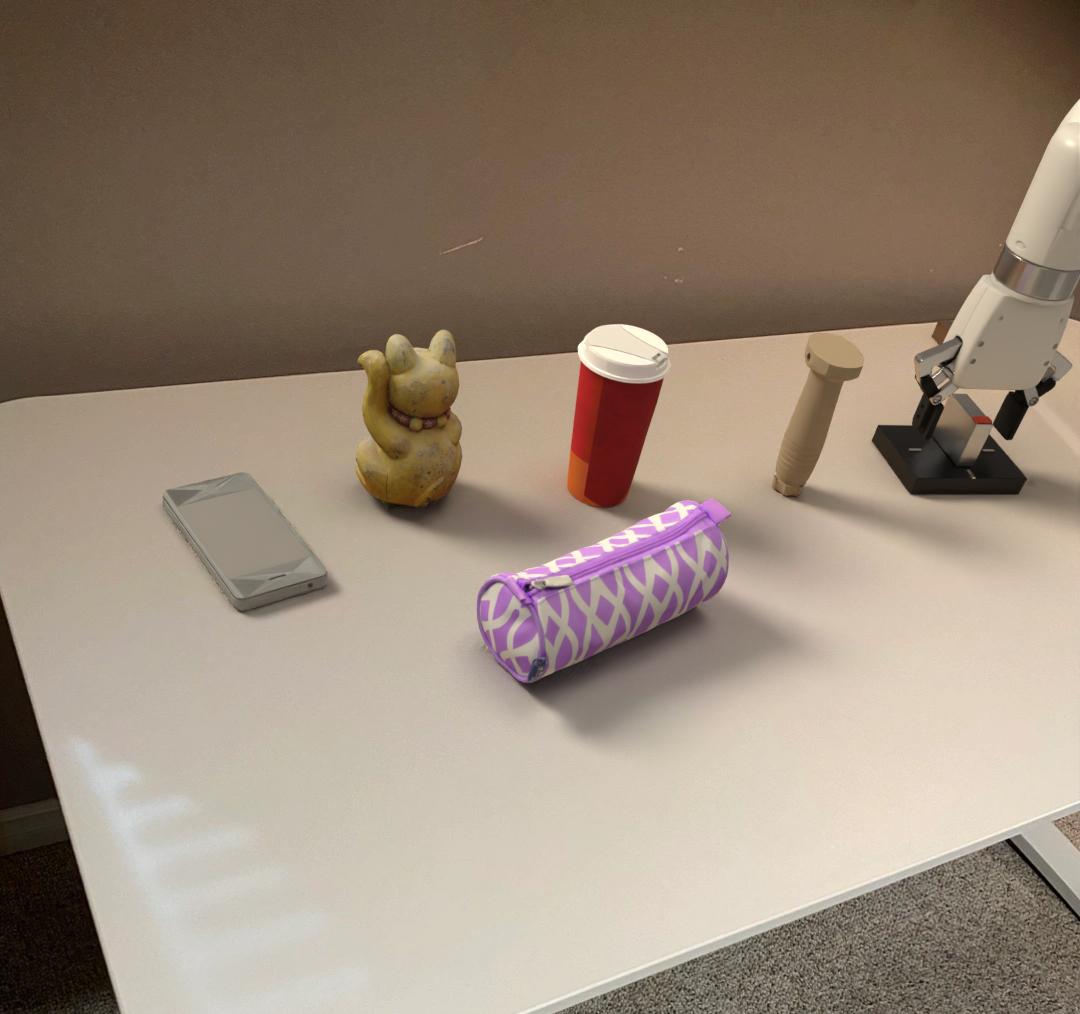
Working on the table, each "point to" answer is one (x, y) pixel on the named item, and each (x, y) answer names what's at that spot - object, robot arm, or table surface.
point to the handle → (815, 408)
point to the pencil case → (604, 591)
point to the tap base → (945, 465)
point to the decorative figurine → (410, 422)
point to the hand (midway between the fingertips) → (961, 432)
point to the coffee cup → (613, 410)
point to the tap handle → (962, 430)
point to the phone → (244, 540)
